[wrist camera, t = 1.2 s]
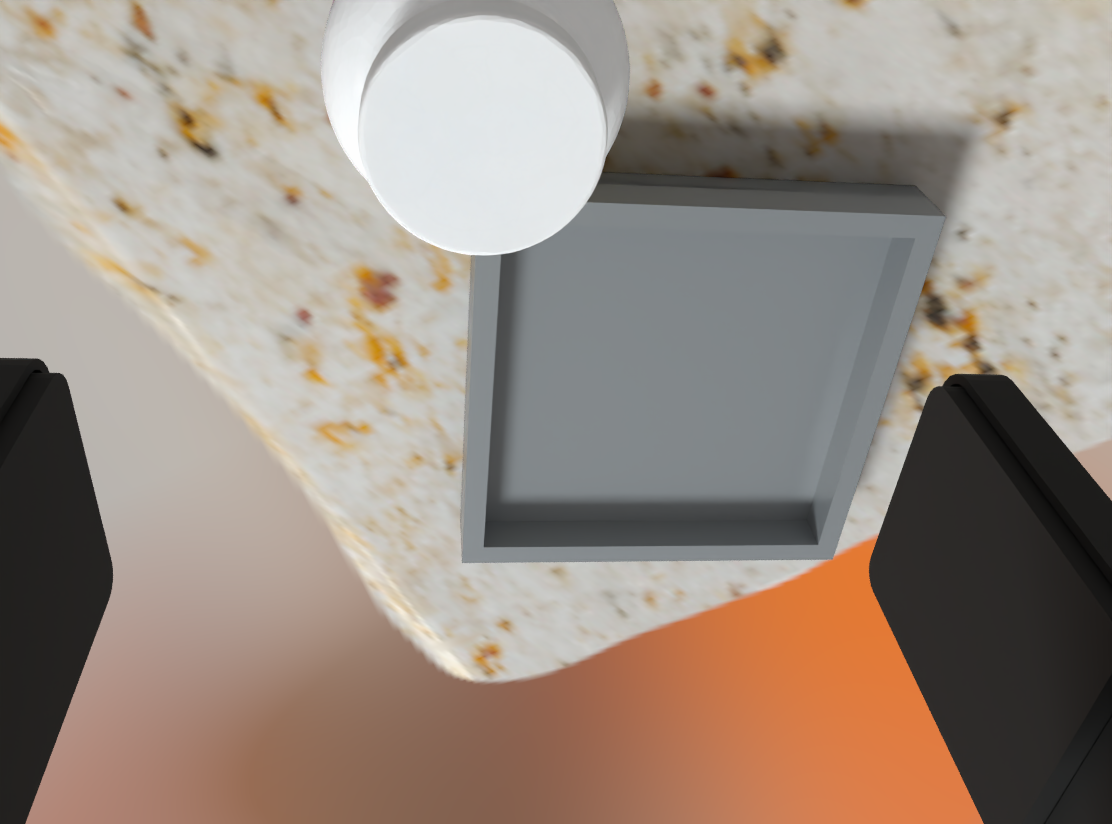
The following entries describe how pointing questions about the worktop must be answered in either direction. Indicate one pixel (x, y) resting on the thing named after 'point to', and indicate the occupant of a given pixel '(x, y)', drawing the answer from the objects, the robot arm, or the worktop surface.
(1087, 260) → the worktop surface
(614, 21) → the supplement bottle
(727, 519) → the charcoal tray
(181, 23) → the worktop surface
